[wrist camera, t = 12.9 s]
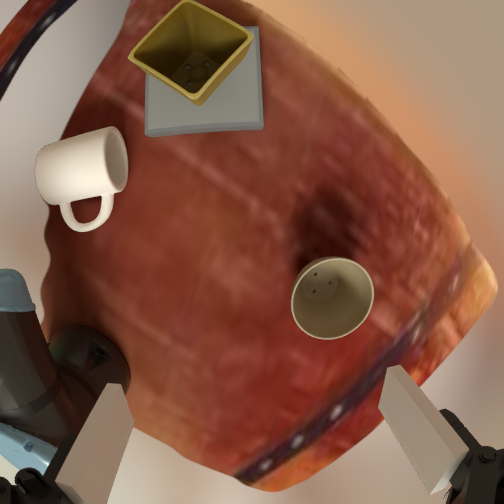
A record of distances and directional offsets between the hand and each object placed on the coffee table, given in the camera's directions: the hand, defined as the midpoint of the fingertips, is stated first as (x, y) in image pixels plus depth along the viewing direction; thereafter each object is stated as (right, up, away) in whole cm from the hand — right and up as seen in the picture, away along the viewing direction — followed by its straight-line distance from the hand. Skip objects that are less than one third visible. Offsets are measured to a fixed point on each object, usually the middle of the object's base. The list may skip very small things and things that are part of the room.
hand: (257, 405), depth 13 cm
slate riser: (-6, +29, +21) cm, 36 cm away
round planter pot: (+9, +3, +27) cm, 29 cm away
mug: (-21, +17, +23) cm, 35 cm away
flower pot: (-6, +28, +18) cm, 34 cm away
